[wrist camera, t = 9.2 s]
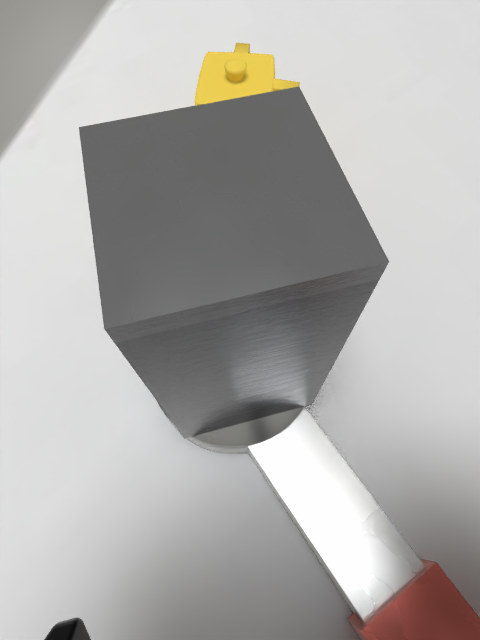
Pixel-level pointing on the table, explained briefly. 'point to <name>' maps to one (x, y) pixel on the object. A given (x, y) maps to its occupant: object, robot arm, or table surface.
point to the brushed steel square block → (227, 254)
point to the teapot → (237, 75)
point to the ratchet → (349, 531)
